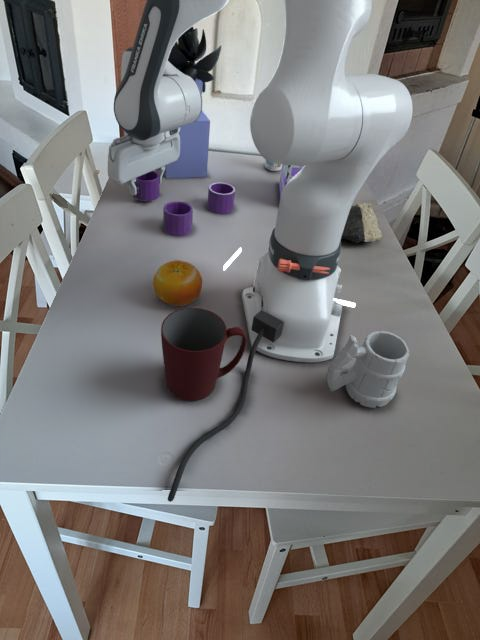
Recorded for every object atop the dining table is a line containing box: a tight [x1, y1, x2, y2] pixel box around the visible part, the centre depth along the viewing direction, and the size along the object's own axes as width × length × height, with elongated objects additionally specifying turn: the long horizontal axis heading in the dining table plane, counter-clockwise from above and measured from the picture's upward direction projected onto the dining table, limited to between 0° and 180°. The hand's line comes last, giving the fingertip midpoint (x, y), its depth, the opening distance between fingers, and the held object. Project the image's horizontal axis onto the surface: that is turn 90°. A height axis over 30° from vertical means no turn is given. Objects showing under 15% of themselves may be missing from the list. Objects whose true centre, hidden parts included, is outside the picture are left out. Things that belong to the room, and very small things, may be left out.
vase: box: [163, 26, 222, 179], centre depth 116 cm, size 14×12×35 cm
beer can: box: [264, 160, 282, 172], centre depth 129 cm, size 5×5×12 cm
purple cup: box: [132, 170, 161, 202], centre depth 110 cm, size 6×6×5 cm
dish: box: [162, 200, 194, 237], centre depth 102 cm, size 6×6×5 cm
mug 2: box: [326, 330, 410, 409], centre depth 69 cm, size 8×12×12 cm, turn 102°
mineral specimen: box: [341, 202, 383, 243], centre depth 107 cm, size 13×7×15 cm
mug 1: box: [160, 307, 248, 402], centre depth 68 cm, size 12×9×11 cm
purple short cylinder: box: [207, 181, 236, 215], centre depth 111 cm, size 6×6×5 cm
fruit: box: [152, 260, 203, 307], centre depth 83 cm, size 8×8×8 cm
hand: (146, 188), depth 111 cm, fingers closed on purple cup, 6 cm apart
